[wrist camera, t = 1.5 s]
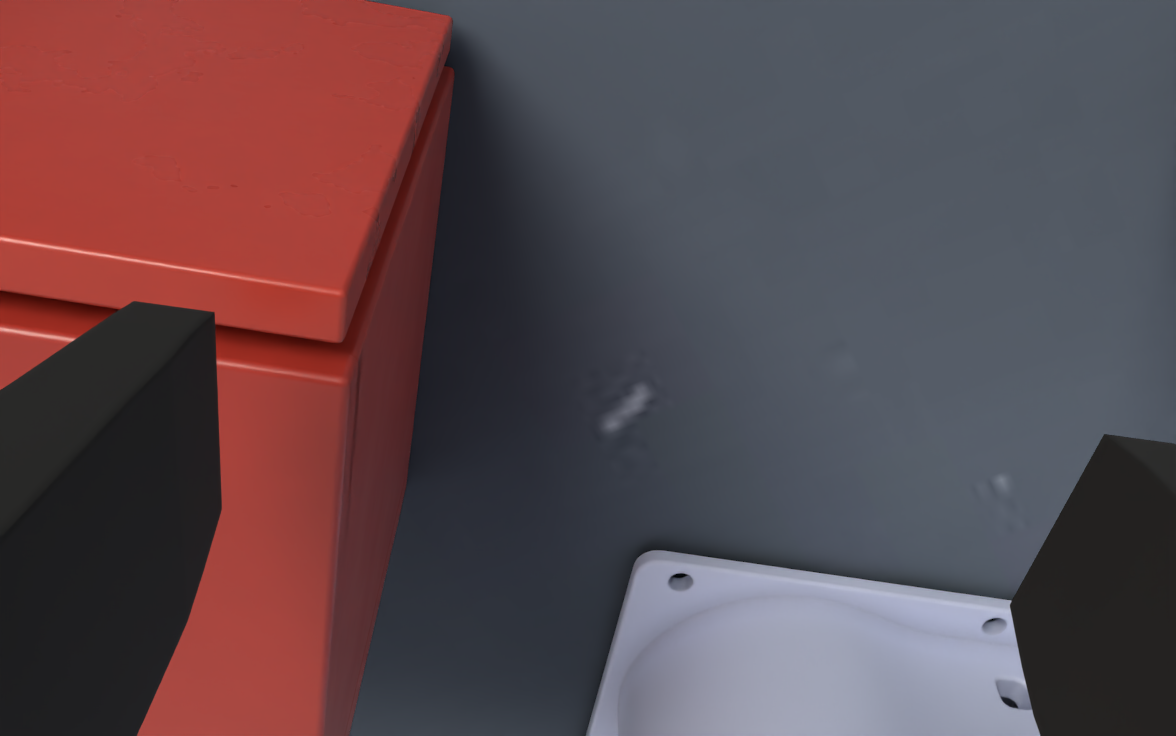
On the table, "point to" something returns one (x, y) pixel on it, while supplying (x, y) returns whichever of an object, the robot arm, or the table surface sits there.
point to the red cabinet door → (208, 151)
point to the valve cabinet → (293, 484)
